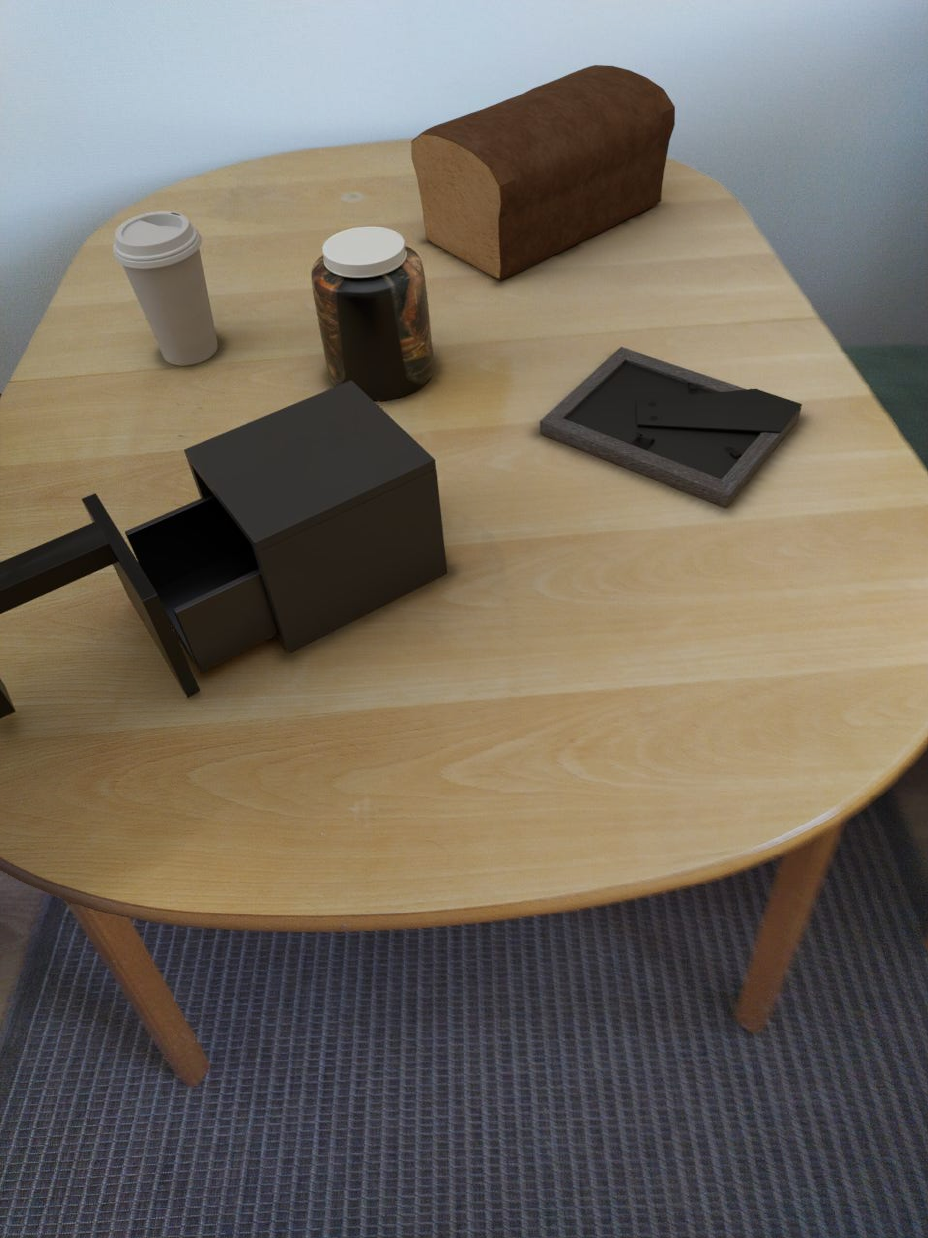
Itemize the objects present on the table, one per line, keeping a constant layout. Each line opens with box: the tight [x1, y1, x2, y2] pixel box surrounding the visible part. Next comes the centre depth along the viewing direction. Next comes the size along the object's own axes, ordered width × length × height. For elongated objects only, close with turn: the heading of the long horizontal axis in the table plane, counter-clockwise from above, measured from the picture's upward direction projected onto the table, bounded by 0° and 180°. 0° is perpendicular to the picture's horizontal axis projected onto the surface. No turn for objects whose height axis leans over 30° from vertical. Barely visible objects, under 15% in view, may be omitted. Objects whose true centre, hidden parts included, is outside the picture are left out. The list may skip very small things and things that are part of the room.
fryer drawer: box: [0, 493, 279, 720], centre depth 76 cm, size 30×14×13 cm, turn 123°
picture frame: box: [539, 346, 803, 509], centre depth 96 cm, size 16×2×21 cm
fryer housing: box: [183, 380, 448, 654], centre depth 82 cm, size 16×14×13 cm
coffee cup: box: [112, 210, 219, 367], centre depth 107 cm, size 10×10×15 cm
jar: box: [310, 225, 435, 401], centre depth 101 cm, size 12×12×15 cm
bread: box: [410, 64, 676, 281], centre depth 122 cm, size 18×30×16 cm, turn 129°
